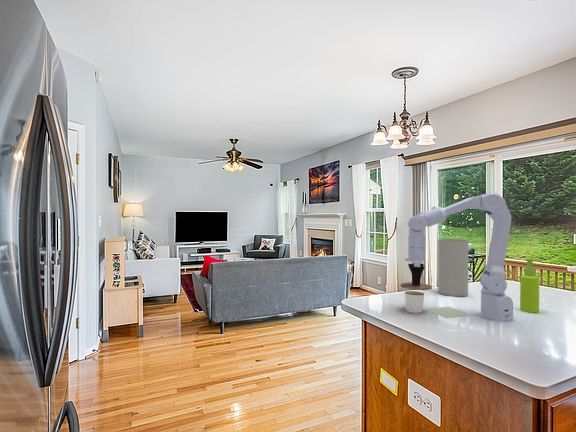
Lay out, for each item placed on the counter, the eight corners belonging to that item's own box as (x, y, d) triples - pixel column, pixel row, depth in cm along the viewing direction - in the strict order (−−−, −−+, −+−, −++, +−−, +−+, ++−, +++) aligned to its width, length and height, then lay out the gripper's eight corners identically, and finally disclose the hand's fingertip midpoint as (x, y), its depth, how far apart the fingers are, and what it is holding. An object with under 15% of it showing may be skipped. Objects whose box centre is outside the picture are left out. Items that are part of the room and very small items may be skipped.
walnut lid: (438, 289, 124) (438, 280, 124) (413, 290, 120) (413, 281, 120) (418, 283, 134) (418, 275, 134) (394, 284, 131) (394, 276, 131)
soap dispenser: (545, 313, 126) (545, 259, 126) (524, 312, 127) (525, 259, 127) (537, 309, 132) (537, 257, 131) (517, 308, 133) (517, 257, 133)
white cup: (427, 314, 124) (427, 295, 124) (408, 314, 124) (408, 294, 124) (420, 309, 131) (420, 291, 131) (402, 308, 131) (402, 290, 131)
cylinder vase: (474, 295, 153) (474, 240, 153) (453, 298, 149) (454, 241, 149) (451, 290, 165) (452, 238, 165) (432, 292, 160) (432, 239, 160)
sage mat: (474, 316, 122) (474, 315, 122) (446, 318, 118) (446, 317, 118) (449, 307, 133) (449, 306, 133) (423, 309, 130) (423, 308, 130)
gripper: (404, 245, 135) (404, 279, 135) (405, 248, 122) (405, 286, 122) (423, 246, 133) (423, 280, 133) (426, 249, 119) (426, 288, 119)
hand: (416, 283), depth 127 cm, fingers closed on walnut lid, 3 cm apart
